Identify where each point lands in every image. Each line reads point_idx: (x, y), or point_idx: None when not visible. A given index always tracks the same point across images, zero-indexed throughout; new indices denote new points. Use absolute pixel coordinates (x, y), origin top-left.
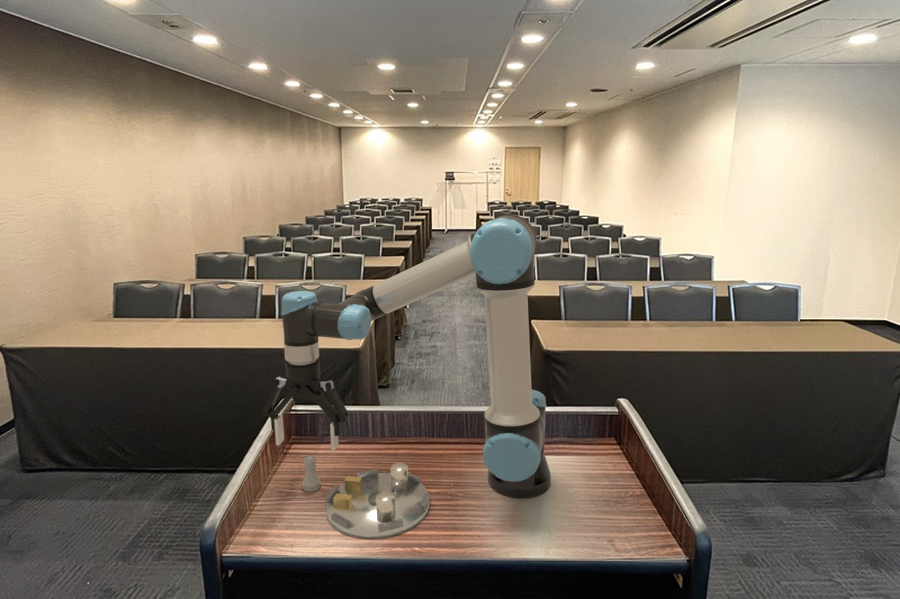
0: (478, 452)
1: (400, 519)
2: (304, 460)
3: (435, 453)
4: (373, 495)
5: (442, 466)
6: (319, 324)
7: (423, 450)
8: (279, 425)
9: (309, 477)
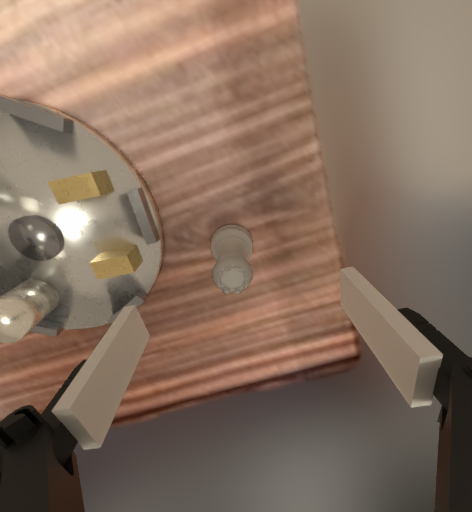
0: None
1: None
2: (241, 265)
3: None
4: (47, 240)
5: (45, 374)
6: None
7: None
8: (386, 338)
9: (227, 244)
